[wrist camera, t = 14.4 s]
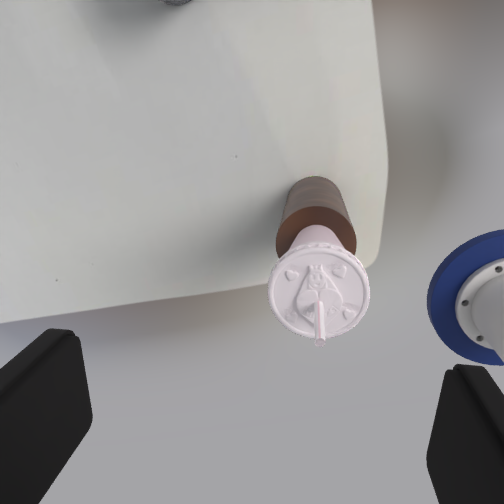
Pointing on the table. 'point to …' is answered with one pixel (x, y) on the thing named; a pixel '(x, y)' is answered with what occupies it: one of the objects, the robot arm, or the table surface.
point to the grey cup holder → (174, 2)
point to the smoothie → (318, 286)
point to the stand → (315, 213)
